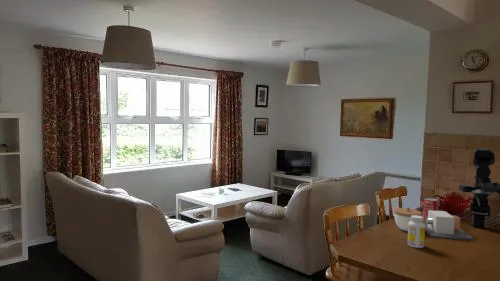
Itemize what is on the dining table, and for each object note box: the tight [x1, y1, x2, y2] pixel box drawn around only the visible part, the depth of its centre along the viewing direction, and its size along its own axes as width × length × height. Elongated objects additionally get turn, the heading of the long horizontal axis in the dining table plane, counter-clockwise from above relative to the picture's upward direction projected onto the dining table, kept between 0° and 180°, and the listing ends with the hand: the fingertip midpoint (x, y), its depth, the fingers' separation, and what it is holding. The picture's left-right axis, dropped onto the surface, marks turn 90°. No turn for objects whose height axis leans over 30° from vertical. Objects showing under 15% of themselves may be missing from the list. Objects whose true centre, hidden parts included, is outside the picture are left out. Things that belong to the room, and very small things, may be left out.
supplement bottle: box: [407, 215, 426, 249], centre depth 158 cm, size 7×7×13 cm
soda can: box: [422, 197, 439, 224], centre depth 193 cm, size 7×7×13 cm
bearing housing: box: [424, 210, 474, 241], centre depth 178 cm, size 20×18×9 cm
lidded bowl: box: [394, 206, 423, 232], centre depth 182 cm, size 13×13×11 cm
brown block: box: [426, 214, 461, 231], centre depth 179 cm, size 5×14×6 cm, turn 81°
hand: (480, 206), depth 178 cm, fingers closed
